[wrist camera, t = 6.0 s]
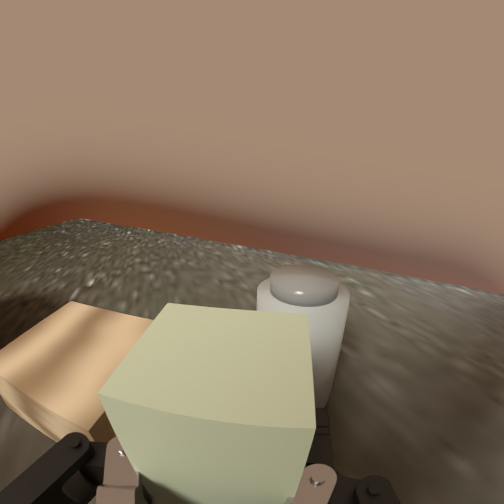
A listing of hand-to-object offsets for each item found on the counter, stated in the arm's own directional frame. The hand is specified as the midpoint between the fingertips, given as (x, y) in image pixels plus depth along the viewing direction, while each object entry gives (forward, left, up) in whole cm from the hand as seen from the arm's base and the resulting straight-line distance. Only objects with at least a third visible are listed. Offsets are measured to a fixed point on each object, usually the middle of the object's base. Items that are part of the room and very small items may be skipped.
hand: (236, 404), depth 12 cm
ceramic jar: (-3, -8, -7) cm, 11 cm away
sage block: (0, +3, -7) cm, 7 cm away
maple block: (+13, -4, -7) cm, 16 cm away
